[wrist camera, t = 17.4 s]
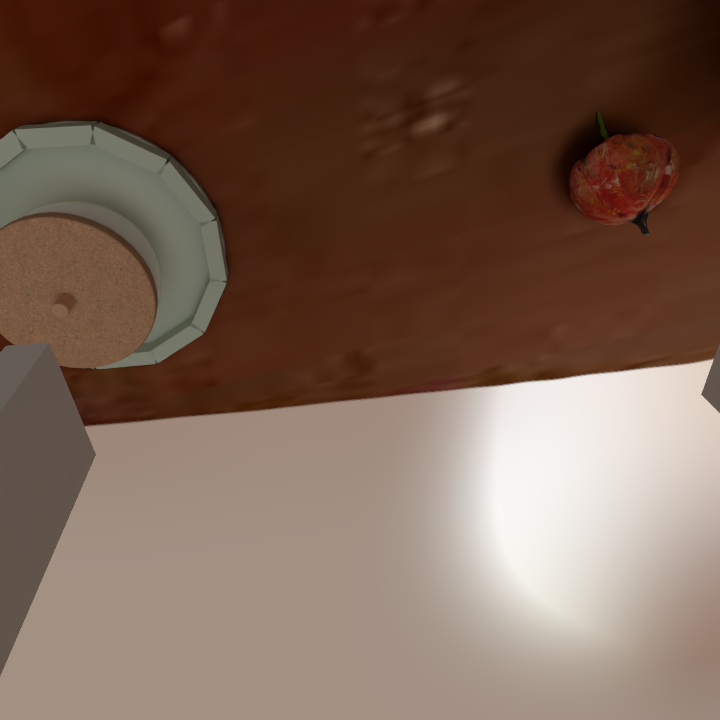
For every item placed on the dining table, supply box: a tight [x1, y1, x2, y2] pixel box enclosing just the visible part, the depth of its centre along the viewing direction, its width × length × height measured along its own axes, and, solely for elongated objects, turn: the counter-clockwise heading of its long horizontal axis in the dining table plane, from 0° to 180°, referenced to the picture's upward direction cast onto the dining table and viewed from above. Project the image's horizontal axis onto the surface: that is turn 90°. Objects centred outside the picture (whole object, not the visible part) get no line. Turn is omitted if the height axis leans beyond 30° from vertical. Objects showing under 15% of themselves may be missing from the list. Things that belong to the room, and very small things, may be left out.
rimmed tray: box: [0, 121, 228, 369], centre depth 42 cm, size 18×18×2 cm
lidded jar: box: [0, 201, 161, 368], centre depth 38 cm, size 11×11×9 cm
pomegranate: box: [569, 111, 681, 235], centre depth 42 cm, size 7×7×10 cm
